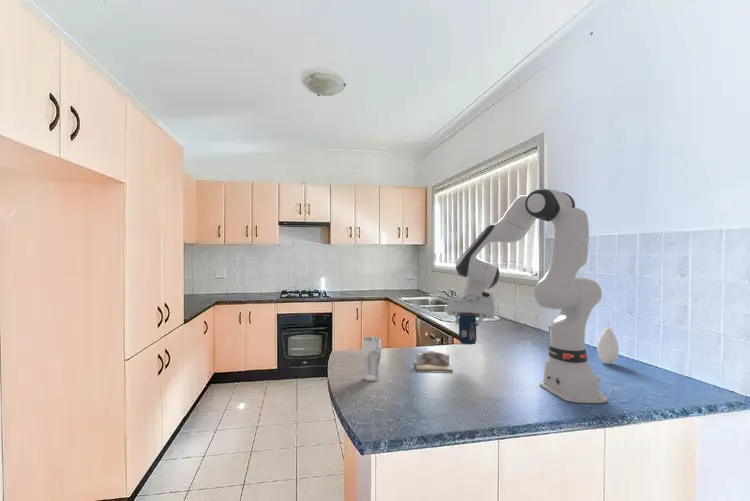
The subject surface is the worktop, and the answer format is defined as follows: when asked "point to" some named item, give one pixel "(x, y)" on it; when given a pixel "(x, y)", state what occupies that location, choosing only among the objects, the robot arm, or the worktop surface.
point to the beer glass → (371, 358)
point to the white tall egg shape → (607, 346)
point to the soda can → (467, 329)
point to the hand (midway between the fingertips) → (467, 323)
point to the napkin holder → (433, 362)
